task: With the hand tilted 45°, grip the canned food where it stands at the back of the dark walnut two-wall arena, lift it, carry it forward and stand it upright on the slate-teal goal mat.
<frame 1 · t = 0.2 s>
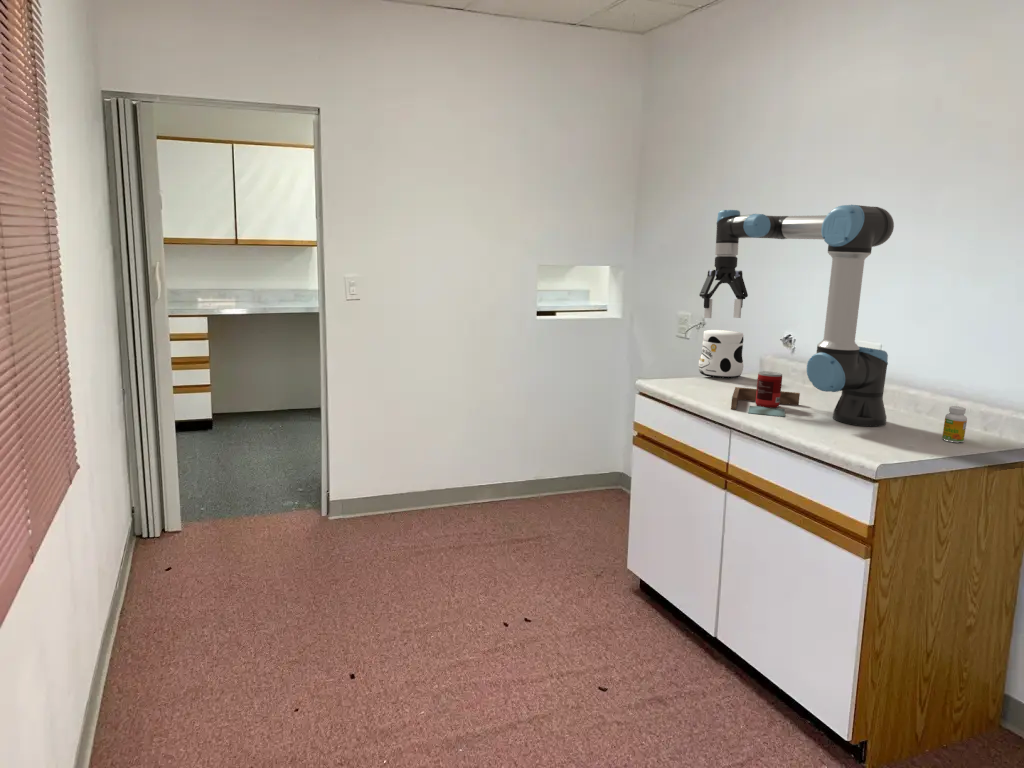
hand: (722, 317, 266), 27 cm above the table, tool pointing down, fingers open, 13 cm apart
supplement bottle: (952, 441, 217), on the table
arena: (766, 411, 246), on the table
canned food: (767, 406, 254), on the table, touching arena
milk container: (719, 377, 306), on the table
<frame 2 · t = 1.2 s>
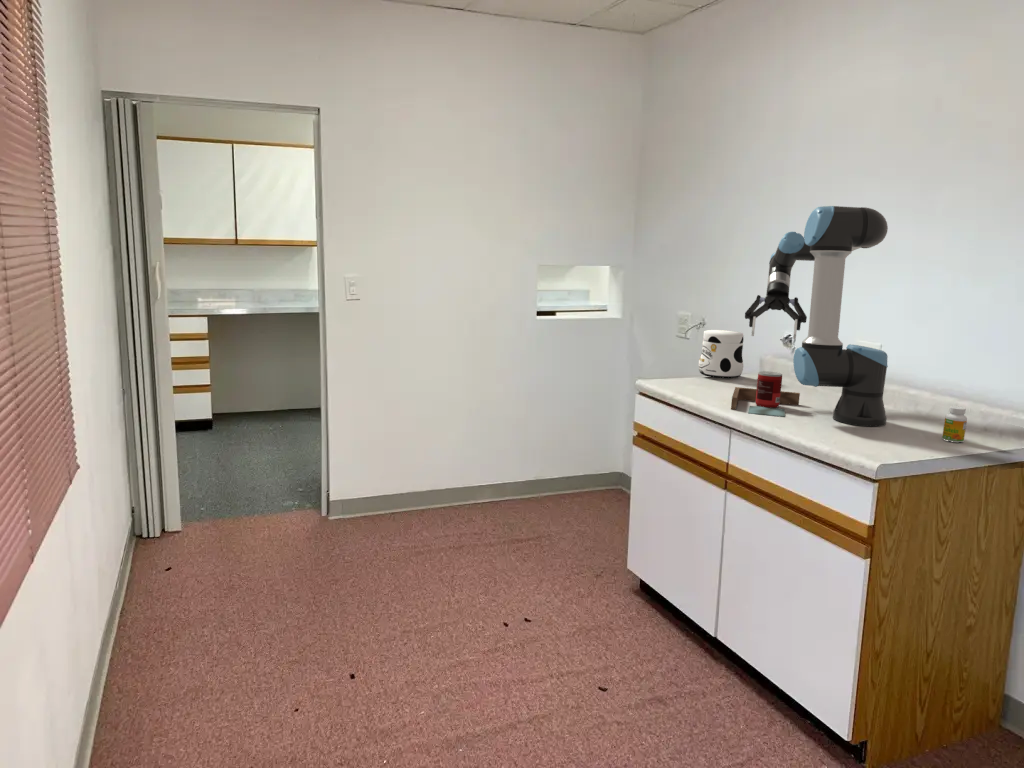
hand: (773, 335, 260), 23 cm above the table, tool tilted 45°, fingers open, 13 cm apart
nothing on the table moved.
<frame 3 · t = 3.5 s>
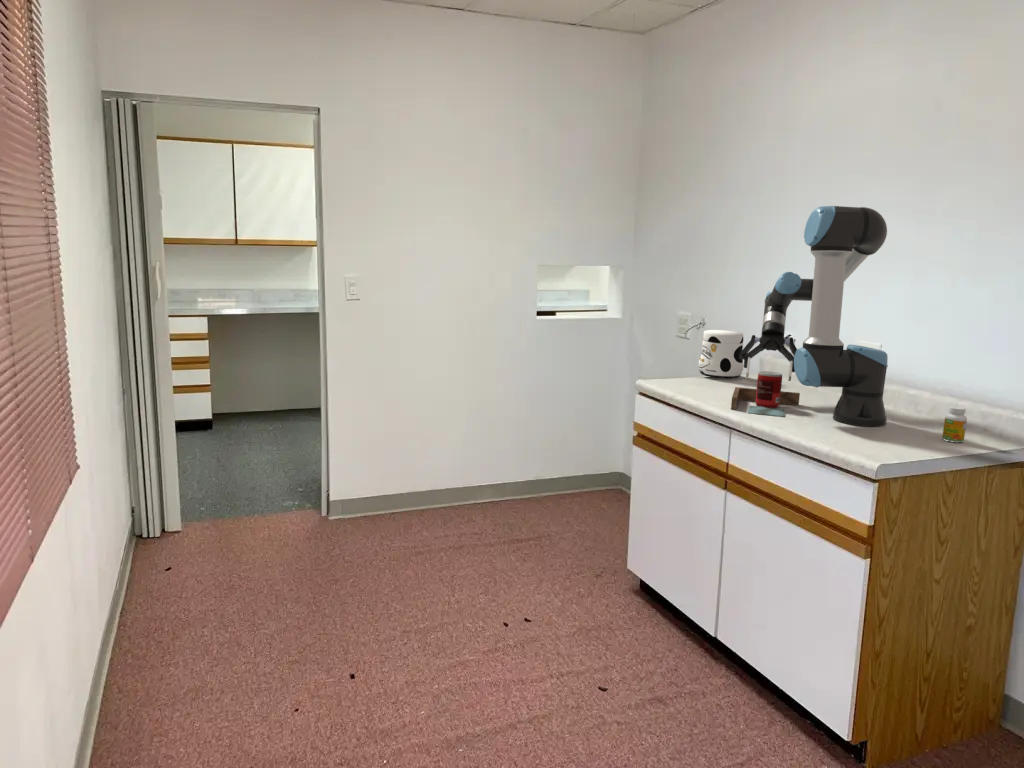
hand: (768, 376, 257), 9 cm above the table, tool tilted 45°, fingers open, 13 cm apart
nothing on the table moved.
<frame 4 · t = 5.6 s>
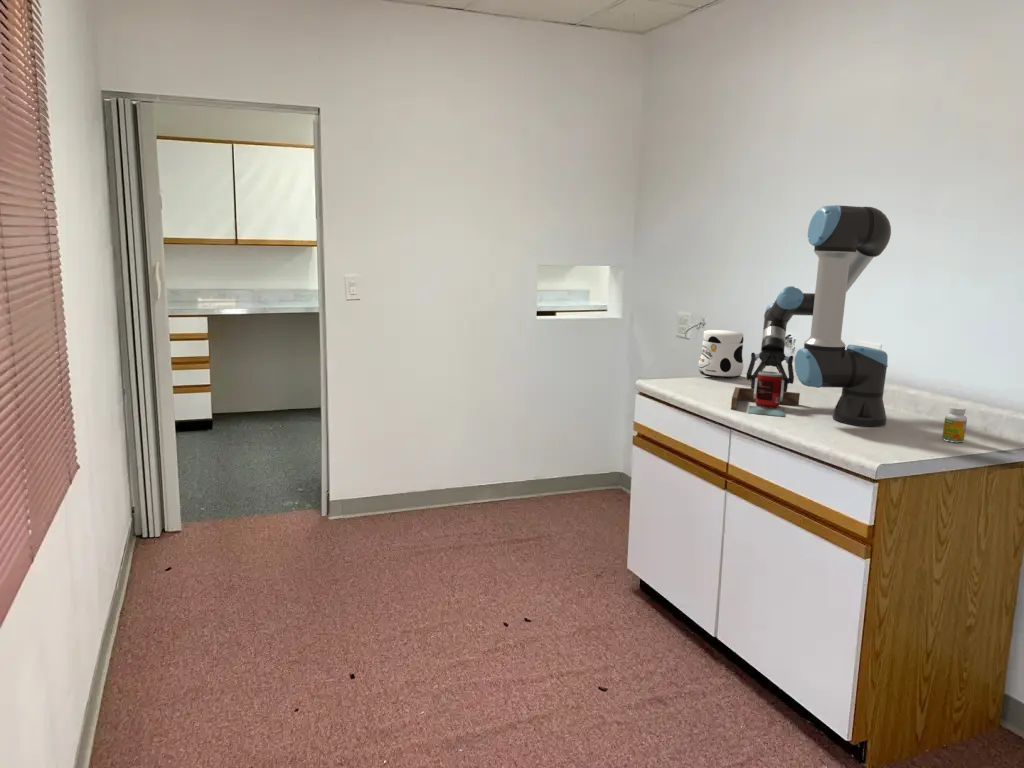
hand: (767, 397, 250), 4 cm above the table, tool tilted 45°, fingers closed on canned food, 8 cm apart
canned food: (767, 406, 254), on the table, touching arena, gripper
everything else where it was.
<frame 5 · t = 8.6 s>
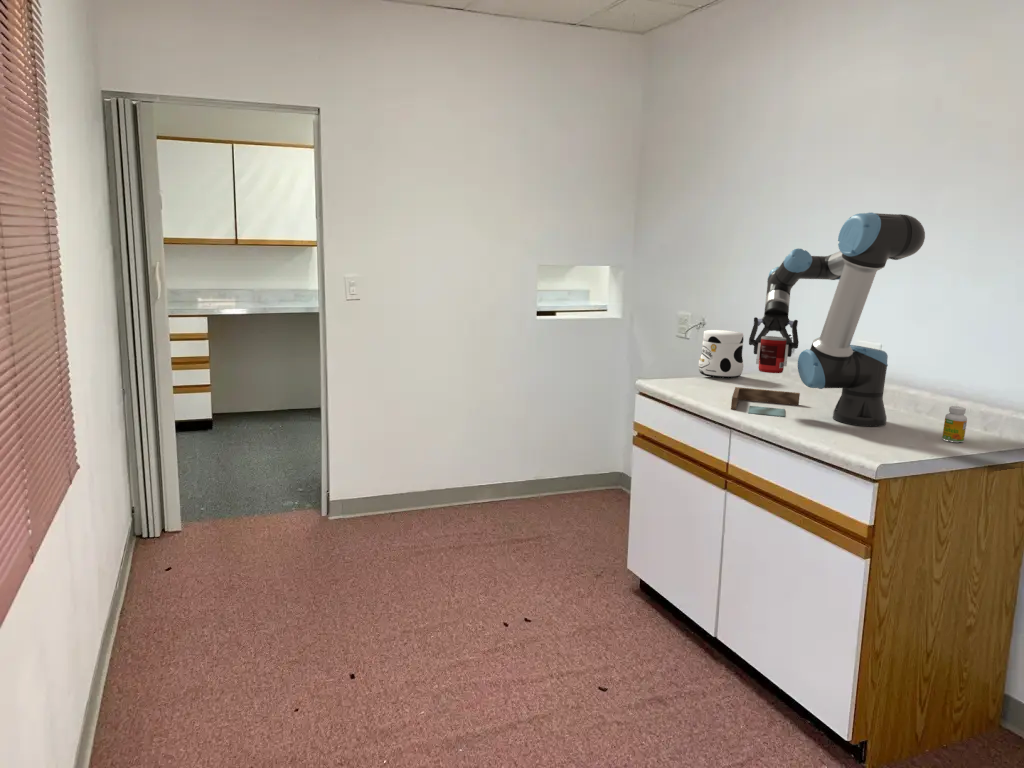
hand: (771, 362, 240), 17 cm above the table, tool tilted 45°, fingers closed on canned food, 8 cm apart
canned food: (770, 372, 244), point 13 cm above the table, touching gripper
everything else where it was.
when the fingers open (5 cm above the table, at t = 11.8 s): canned food drops 1 cm, resting on arena.
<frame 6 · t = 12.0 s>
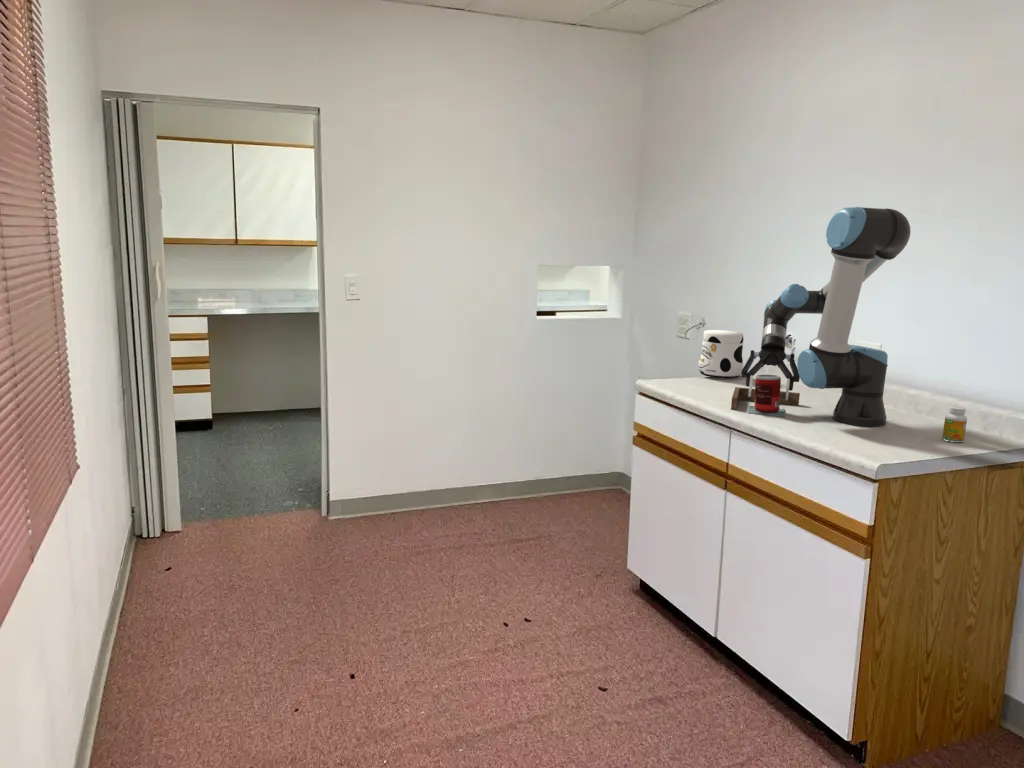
hand: (768, 396, 242), 6 cm above the table, tool tilted 45°, fingers open, 10 cm apart
canned food: (766, 410, 246), resting on arena
everything else where it was.
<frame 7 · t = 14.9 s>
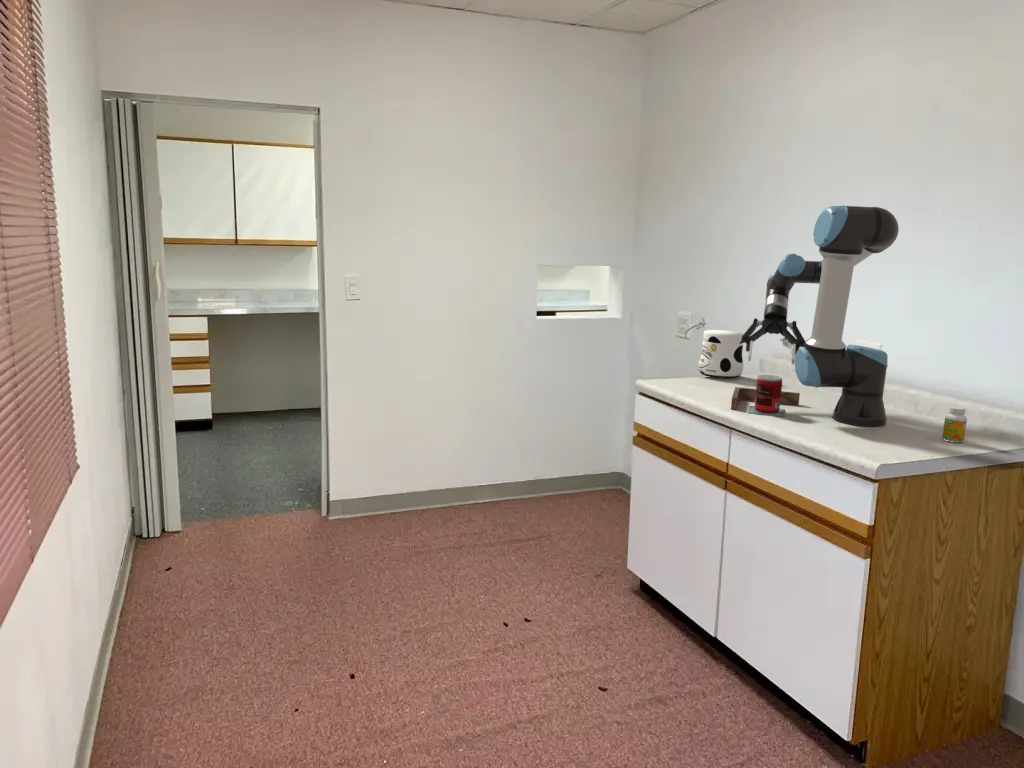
hand: (771, 360, 252), 15 cm above the table, tool tilted 45°, fingers open, 13 cm apart
nothing on the table moved.
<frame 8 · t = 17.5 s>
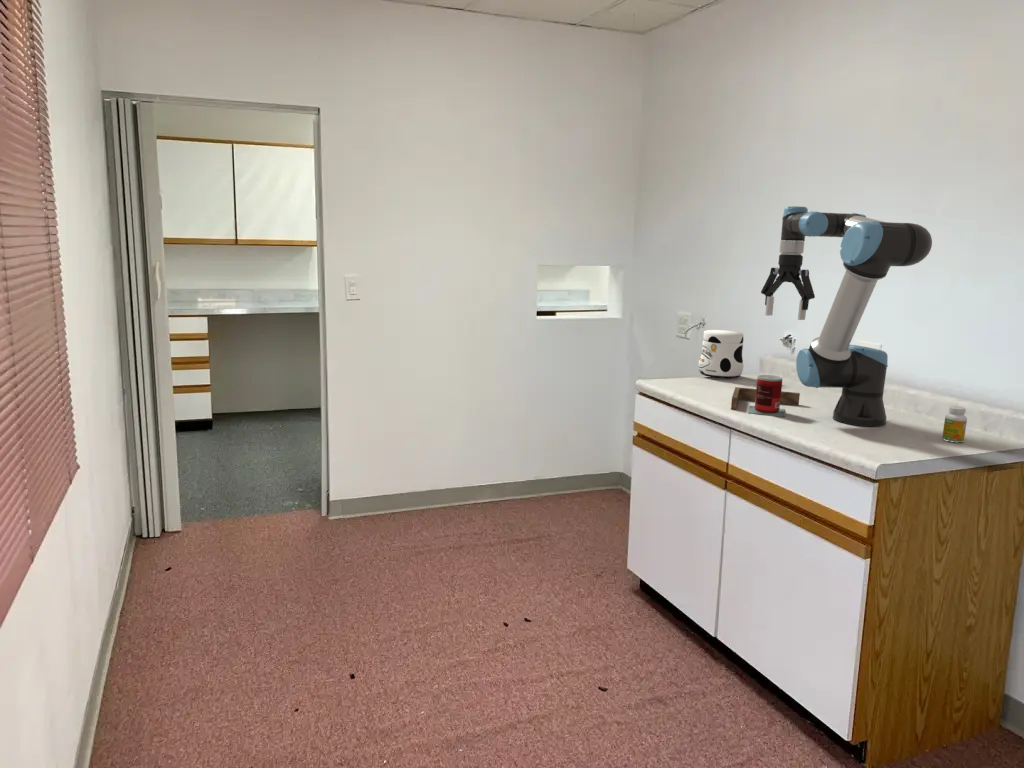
hand: (784, 317, 258), 29 cm above the table, tool pointing down, fingers open, 13 cm apart
nothing on the table moved.
at the end: canned food 0.1 cm off-centre on the arena, point 0.1 cm above the arena's base; canned food tilted 0°; the gripper is holding nothing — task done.
